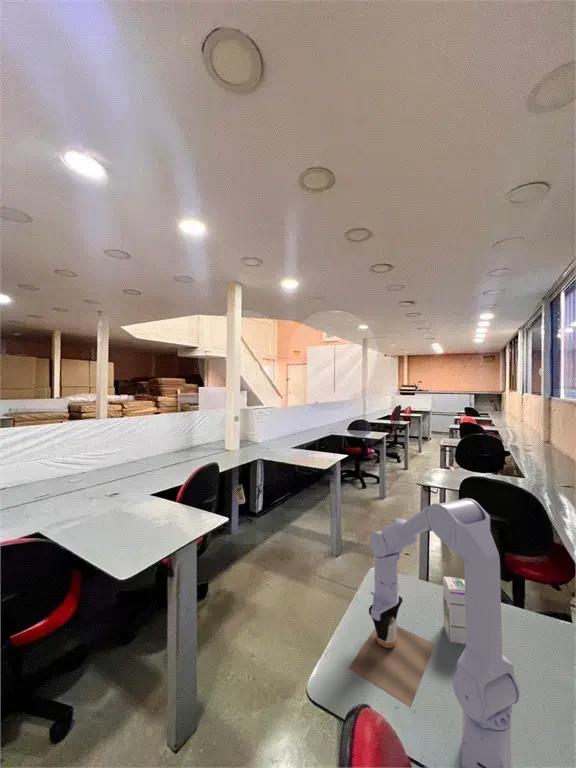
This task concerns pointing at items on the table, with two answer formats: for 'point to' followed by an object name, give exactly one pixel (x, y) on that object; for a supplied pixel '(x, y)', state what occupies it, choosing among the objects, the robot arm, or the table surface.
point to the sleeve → (390, 635)
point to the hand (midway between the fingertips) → (386, 631)
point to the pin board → (394, 664)
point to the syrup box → (454, 609)
